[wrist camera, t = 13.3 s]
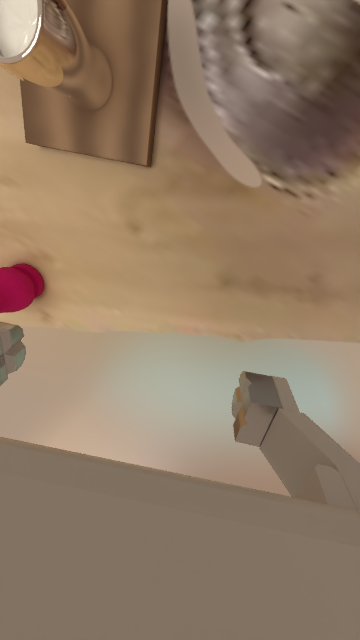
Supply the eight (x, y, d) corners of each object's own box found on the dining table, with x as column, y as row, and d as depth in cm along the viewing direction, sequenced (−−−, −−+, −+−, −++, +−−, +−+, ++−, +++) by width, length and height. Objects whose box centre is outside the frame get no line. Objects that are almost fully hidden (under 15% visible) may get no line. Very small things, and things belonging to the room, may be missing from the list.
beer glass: (55, 32, 29) (-76, -96, 16) (117, 41, 29) (38, -82, 15) (60, 111, 32) (-44, 60, 19) (116, 119, 32) (50, 73, 19)
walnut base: (167, 2, 29) (163, -16, 26) (150, 166, 37) (146, 165, 34) (26, -24, 29) (8, -45, 27) (39, 145, 37) (25, 142, 34)
